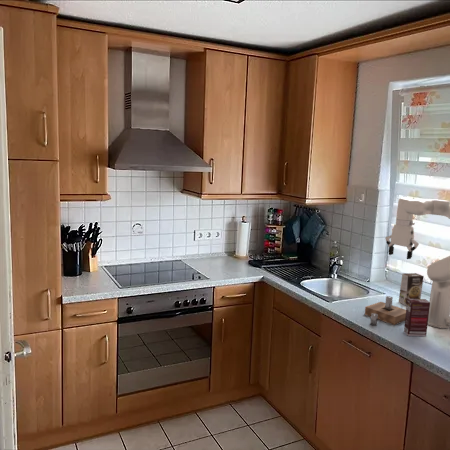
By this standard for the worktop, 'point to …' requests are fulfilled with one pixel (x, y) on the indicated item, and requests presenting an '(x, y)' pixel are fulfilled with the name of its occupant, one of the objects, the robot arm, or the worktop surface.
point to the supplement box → (416, 317)
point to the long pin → (388, 303)
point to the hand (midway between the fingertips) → (399, 256)
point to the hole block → (386, 313)
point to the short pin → (374, 319)
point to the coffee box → (410, 287)
